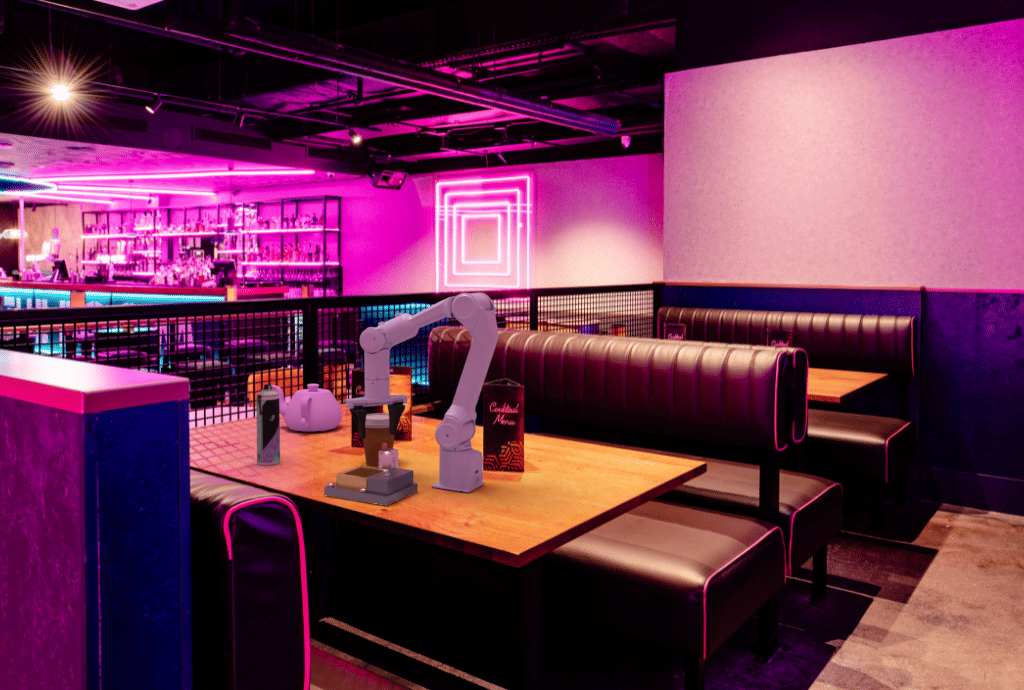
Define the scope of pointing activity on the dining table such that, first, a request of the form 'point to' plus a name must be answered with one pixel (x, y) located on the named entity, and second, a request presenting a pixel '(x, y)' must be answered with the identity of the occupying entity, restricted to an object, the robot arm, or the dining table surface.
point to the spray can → (268, 426)
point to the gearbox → (372, 485)
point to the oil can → (388, 457)
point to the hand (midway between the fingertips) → (377, 436)
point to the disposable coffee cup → (376, 437)
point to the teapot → (310, 409)
